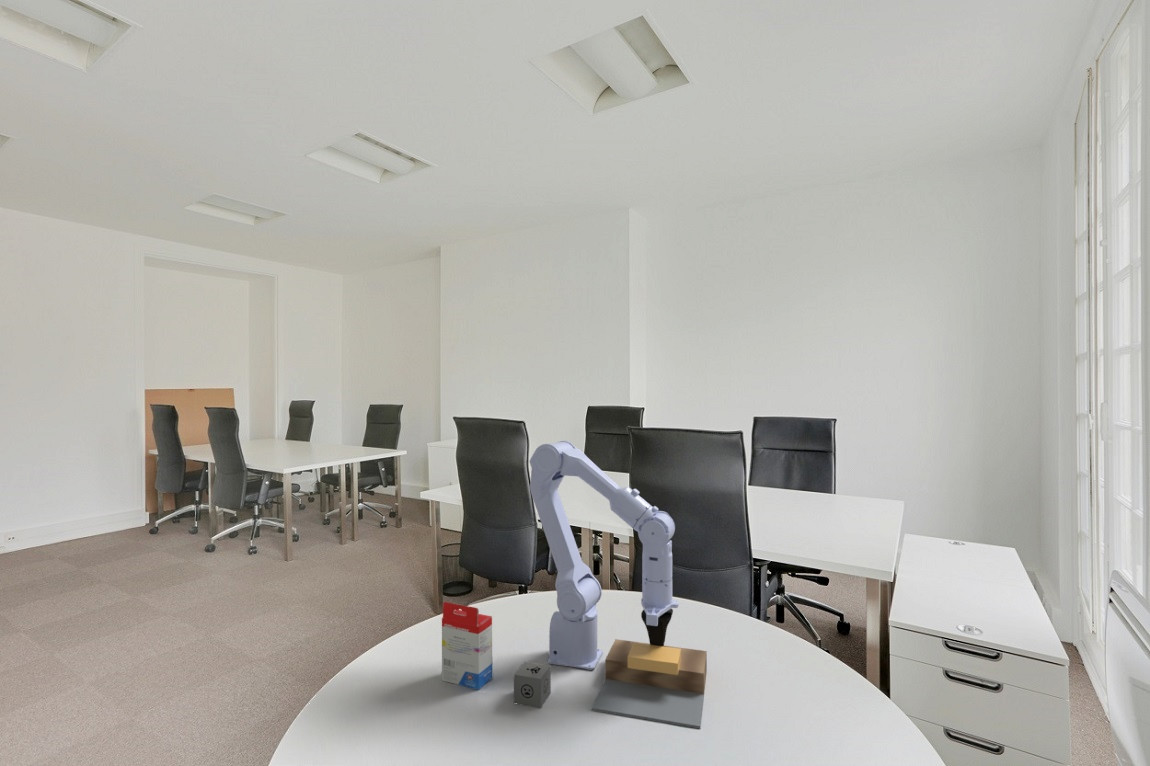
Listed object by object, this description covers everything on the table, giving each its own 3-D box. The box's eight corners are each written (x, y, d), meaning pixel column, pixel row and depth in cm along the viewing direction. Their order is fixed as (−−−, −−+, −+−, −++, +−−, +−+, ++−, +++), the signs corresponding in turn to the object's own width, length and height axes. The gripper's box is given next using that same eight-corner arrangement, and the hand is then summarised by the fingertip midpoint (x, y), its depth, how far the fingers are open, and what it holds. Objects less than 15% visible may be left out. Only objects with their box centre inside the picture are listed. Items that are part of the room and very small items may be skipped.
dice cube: (540, 708, 94) (541, 678, 94) (513, 703, 95) (513, 674, 95) (550, 693, 99) (550, 665, 99) (524, 689, 100) (524, 661, 100)
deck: (605, 681, 103) (605, 659, 103) (615, 659, 111) (615, 639, 112) (703, 696, 98) (703, 673, 98) (706, 672, 106) (706, 651, 106)
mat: (591, 710, 93) (591, 707, 93) (606, 678, 104) (606, 676, 104) (700, 728, 88) (700, 726, 88) (704, 693, 99) (704, 691, 99)
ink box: (493, 678, 104) (493, 600, 104) (478, 691, 99) (478, 609, 100) (456, 669, 107) (457, 593, 108) (440, 680, 103) (440, 601, 103)
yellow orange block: (627, 667, 100) (627, 656, 100) (633, 653, 106) (633, 642, 106) (677, 675, 97) (677, 663, 97) (681, 659, 103) (681, 648, 103)
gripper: (674, 592, 98) (674, 670, 97) (681, 568, 111) (682, 635, 111) (634, 588, 100) (634, 664, 99) (647, 565, 113) (647, 631, 113)
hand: (657, 649), depth 105 cm, fingers closed
